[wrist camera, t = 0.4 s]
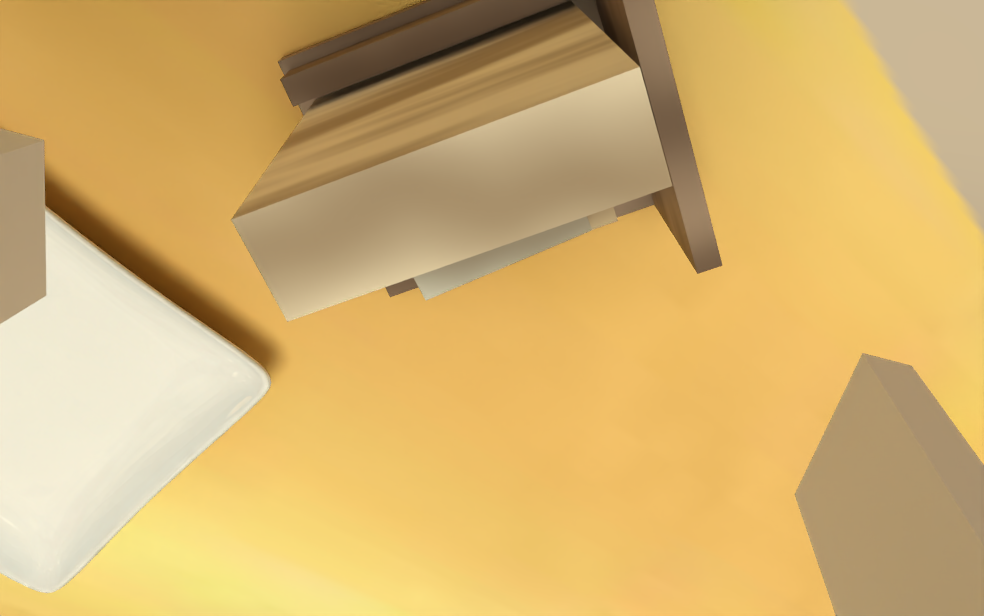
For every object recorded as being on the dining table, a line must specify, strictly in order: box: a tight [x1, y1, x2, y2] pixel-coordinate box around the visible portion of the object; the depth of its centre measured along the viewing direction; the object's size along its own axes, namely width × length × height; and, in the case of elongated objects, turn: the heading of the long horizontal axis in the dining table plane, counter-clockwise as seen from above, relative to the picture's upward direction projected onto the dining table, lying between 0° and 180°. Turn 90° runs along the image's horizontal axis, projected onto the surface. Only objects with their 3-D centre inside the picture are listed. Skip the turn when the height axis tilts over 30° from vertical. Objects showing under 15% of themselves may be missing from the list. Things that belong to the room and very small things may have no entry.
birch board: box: [231, 0, 672, 322], centre depth 30 cm, size 4×12×15 cm, turn 110°
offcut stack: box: [413, 207, 618, 300], centre depth 38 cm, size 4×10×3 cm, turn 110°
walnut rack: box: [278, 0, 722, 297], centre depth 34 cm, size 12×15×9 cm
